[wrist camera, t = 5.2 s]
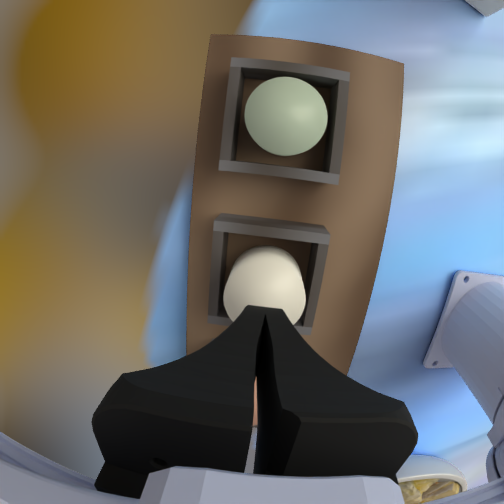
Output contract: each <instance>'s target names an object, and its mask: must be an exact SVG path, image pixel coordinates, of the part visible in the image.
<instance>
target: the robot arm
mask: <svg viewBox="0 0 504 504" xmlns="http://www.w3.org/2000/svg"><path fill="white" fill-rule="evenodd" d="M465 277H466V280H464V278H465ZM434 361H435V362H434ZM433 362H434V363H433ZM423 365H424V367H425V368H449V367H454V368H455V369H456V371H457V372H458V373H459V375H460V376H461V378H462V379H463V380H464V382H465V383H466V385H467V386H468V388H469V389H470V391H471V392H472V393H473V395H474V396H475V398H476V399H477V401H478V402H479V404H480V405H481V407H482V408H483V410H484V411H485V413H486V415H487V416H488V418H489V419H490V421H491V422H492V424H493V427H492V428H491V430H490V431H489V432H488V434H487V436H488V438H489V439H490V441H491V443H492V445H493V447H492V448H491V449H490V451H489V453H488V455H487V459H486V470H487V478H488V482H489V483H487V484H484V485H481V486H479V487H476V488H473V489H470V490H467V491H464V492H461V493H458V494H455V495H451V496H448V497H444V498H441V499H437V500H433V501H430V502H425V503H421V504H504V276H498V275H491V274H484V273H477V272H469V271H462V270H460V271H457V272H456V273H455V275H454V278H453V281H452V285H451V288H450V291H449V294H448V297H447V300H446V303H445V306H444V309H443V312H442V315H441V318H440V321H439V324H438V326H437V329H436V332H435V334H434V337H433V339H432V342H431V344H430V347H429V349H428V352H427V354H426V356H425V359H424V361H423ZM255 379H256V384H257V421H258V424H257V441H256V452H255V462H254V472H253V474H248V473H244V470H245V466H246V460H247V455H248V450H249V444H250V439H251V434H252V427H253V416H254V383H255ZM92 427H93V432H94V434H95V437H96V440H97V442H98V445H99V447H100V450H101V453H102V455H103V457H104V460H105V463H104V465H103V467H102V469H101V471H100V473H99V475H98V477H97V479H96V480H95V479H92V478H90V477H87V476H85V475H82V474H80V473H78V472H75V471H73V470H71V469H69V468H66V467H64V466H62V465H60V464H58V463H56V462H54V461H51V460H49V459H47V458H45V457H43V456H41V455H40V454H38V453H36V452H34V451H32V450H30V449H28V448H27V447H25V446H23V445H21V444H20V443H18V442H16V441H15V440H13V439H11V438H9V437H8V436H6V435H5V434H3V433H1V432H0V504H405V503H404V499H403V496H402V492H401V489H400V486H399V483H398V479H397V476H396V473H397V472H398V471H399V469H400V468H401V467H402V465H403V464H404V463H405V461H406V460H407V459H408V457H409V456H410V454H411V453H412V452H413V450H414V448H415V446H416V444H417V440H418V432H417V430H416V427H415V425H414V422H413V420H412V417H411V415H410V413H409V411H408V409H407V407H406V405H405V404H404V402H402V401H399V400H397V399H394V398H391V397H389V396H386V395H383V394H381V393H378V392H376V391H374V390H372V389H369V388H367V387H365V386H363V385H361V384H360V383H358V382H356V381H354V380H352V379H351V378H349V377H348V376H346V375H345V374H343V373H342V372H340V371H339V370H337V369H336V368H334V367H333V366H332V365H330V364H329V363H328V362H327V361H326V360H324V359H323V358H322V357H321V356H320V355H319V354H318V353H316V352H315V351H314V350H313V349H312V347H311V346H310V345H309V344H308V343H307V342H306V341H305V340H304V339H303V337H302V336H301V335H300V334H299V332H298V331H297V330H296V328H295V327H294V326H293V324H292V323H291V321H290V320H289V318H288V317H287V315H286V313H285V312H284V311H283V309H279V308H271V307H262V306H254V305H247V306H246V307H245V308H244V310H243V311H242V312H241V314H240V315H239V316H238V317H237V318H236V320H235V321H234V322H233V323H232V324H231V325H230V326H229V327H228V328H227V329H226V330H224V331H223V332H222V333H221V334H220V335H219V336H217V337H216V338H215V339H214V340H212V341H211V342H210V343H208V344H207V345H205V346H204V347H202V348H201V349H199V350H197V351H195V352H193V353H191V354H189V355H187V356H185V357H183V358H181V359H178V360H176V361H173V362H170V363H167V364H164V365H161V366H158V367H154V368H150V369H146V370H140V371H135V372H130V373H123V374H122V375H121V376H120V377H119V379H118V380H117V381H116V382H115V383H114V384H113V385H112V387H111V388H110V390H109V391H108V392H107V394H106V395H105V397H104V398H103V400H102V401H101V403H100V405H99V406H98V408H97V409H96V411H95V412H94V414H93V418H92Z"/></svg>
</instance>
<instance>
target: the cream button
mask: <svg viewBox="0 0 504 504" xmlns="http://www.w3.org/2000/svg"><path fill="white" fill-rule="evenodd" d="M223 300H224V306H225V310H226V312H227V314H228V316H229V317H230V319H231V320H232V321H233V322H234V321H235V320H236V318H237V317H238V316H239V315H240V314H241V312H242V311H243V310H244V308H245V307H246V306H247V305H254V306H262V307H271V308H279V309H283V311H284V312H285V313H286V315H287V317H288V318H289V320H290V321H291V323H292V324H293V325H294V324H295V323H296V322H297V321H298V319H299V318H300V316H301V315H302V313H303V310H304V307H305V302H306V295H305V289H304V285H303V281H302V276H301V272H300V269H299V266H298V264H297V262H296V260H295V259H294V258H293V257H292V256H291V255H290V254H289V253H288V252H286V251H285V250H283V249H281V248H279V247H276V246H271V245H260V246H256V247H253V248H250V249H248V250H246V251H245V252H243V253H242V254H241V255H240V256H239V257H238V258H237V260H236V261H235V263H234V265H233V267H232V270H231V273H230V275H229V278H228V281H227V283H226V286H225V290H224V295H223Z"/></svg>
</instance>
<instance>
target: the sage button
mask: <svg viewBox="0 0 504 504" xmlns="http://www.w3.org/2000/svg"><path fill="white" fill-rule="evenodd" d="M327 117H328V116H327V109H326V105H325V103H324V100H323V99H322V97H321V95H320V94H319V93H318V91H317V90H316V89H315V88H313V87H312V86H311V85H310V84H308V83H306V82H304V81H302V80H300V79H297V78H292V77H277V78H273V79H270V80H267V81H265V82H264V83H262V84H260V85H259V86H258V87H257V88H256V89H255V90H254V91H253V92H252V93H251V95H250V96H249V98H248V100H247V103H246V107H245V123H246V127H247V129H248V132H249V134H250V135H251V137H252V138H253V140H254V141H255V142H256V143H257V144H258V145H259V146H260V147H261V148H262V149H264V150H265V151H267V152H269V153H271V154H274V155H278V156H292V155H296V154H300V153H303V152H305V151H307V150H309V149H310V148H312V147H313V146H314V145H316V144H317V143H318V141H319V140H320V139H321V137H322V136H323V134H324V132H325V129H326V126H327Z"/></svg>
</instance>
